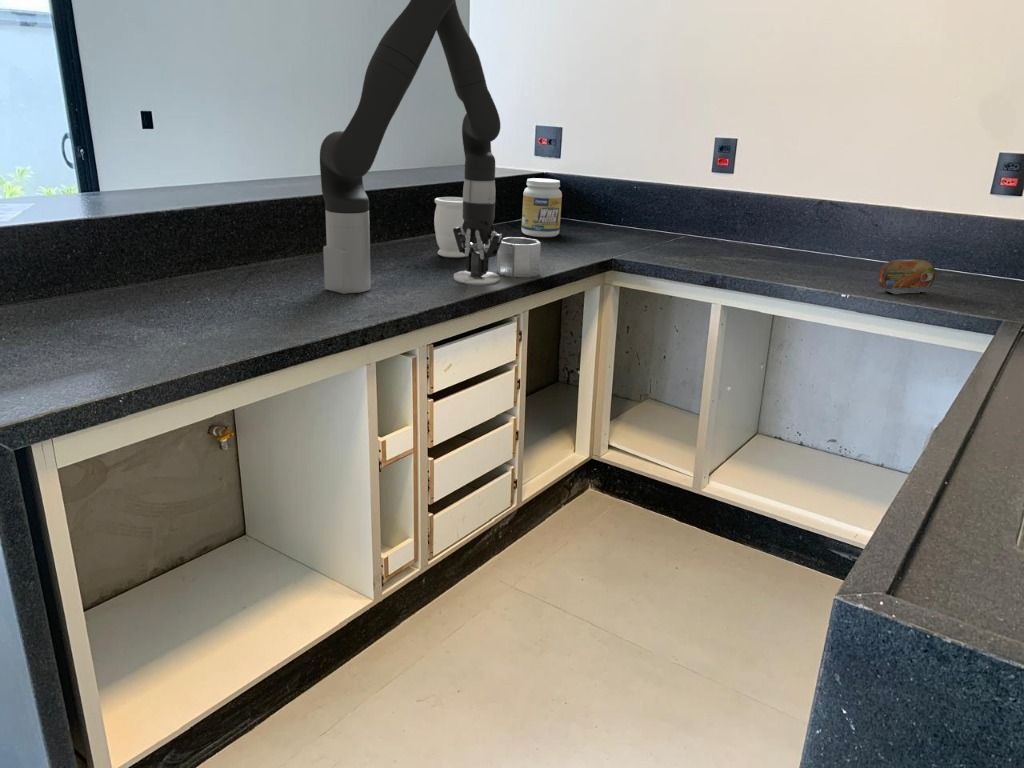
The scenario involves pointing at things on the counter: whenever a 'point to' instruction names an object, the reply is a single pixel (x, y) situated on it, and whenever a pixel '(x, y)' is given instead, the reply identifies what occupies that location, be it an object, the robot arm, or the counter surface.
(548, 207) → the supplement tub
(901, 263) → the tin
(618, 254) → the counter surface
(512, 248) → the pot
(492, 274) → the lid
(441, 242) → the jar
